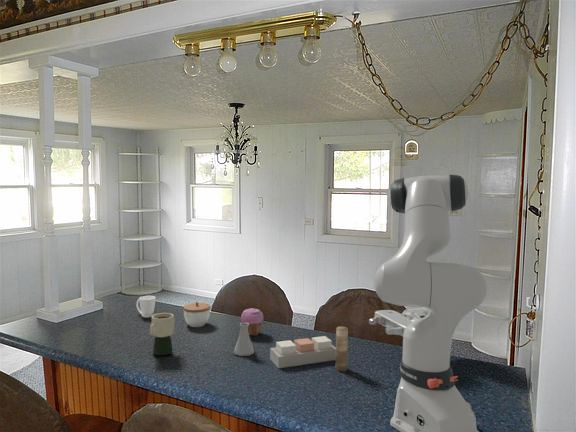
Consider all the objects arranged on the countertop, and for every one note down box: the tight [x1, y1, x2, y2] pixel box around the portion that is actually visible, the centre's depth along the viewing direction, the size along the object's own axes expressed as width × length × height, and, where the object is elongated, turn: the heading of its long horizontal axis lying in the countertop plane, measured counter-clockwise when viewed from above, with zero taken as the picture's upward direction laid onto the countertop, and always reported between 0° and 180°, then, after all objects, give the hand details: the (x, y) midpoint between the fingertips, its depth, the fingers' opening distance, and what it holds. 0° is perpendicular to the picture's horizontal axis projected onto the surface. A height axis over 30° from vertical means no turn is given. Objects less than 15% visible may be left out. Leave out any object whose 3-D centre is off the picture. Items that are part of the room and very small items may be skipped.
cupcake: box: [240, 307, 264, 337], centre depth 166 cm, size 9×9×10 cm
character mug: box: [149, 312, 176, 356], centre depth 145 cm, size 11×7×13 cm, turn 152°
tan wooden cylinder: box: [335, 326, 349, 372], centre depth 135 cm, size 4×4×13 cm
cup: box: [135, 295, 157, 318], centre depth 188 cm, size 7×10×8 cm
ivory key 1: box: [275, 339, 296, 355], centre depth 140 cm, size 5×5×3 cm
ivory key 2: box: [311, 335, 333, 350], centre depth 145 cm, size 5×5×3 cm
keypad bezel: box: [269, 344, 336, 369], centre depth 142 cm, size 8×21×4 cm, turn 111°
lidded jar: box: [183, 301, 211, 328], centre depth 176 cm, size 11×11×9 cm
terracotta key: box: [293, 337, 314, 353], centre depth 142 cm, size 5×5×3 cm
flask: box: [233, 322, 255, 357], centre depth 147 cm, size 7×7×10 cm
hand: (378, 326), depth 140 cm, fingers open, 8 cm apart
